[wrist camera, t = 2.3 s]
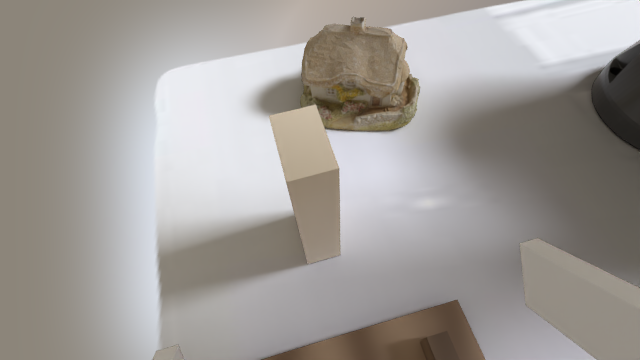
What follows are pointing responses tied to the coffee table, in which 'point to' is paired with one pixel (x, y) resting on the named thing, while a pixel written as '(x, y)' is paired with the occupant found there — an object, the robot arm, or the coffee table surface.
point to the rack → (400, 339)
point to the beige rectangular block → (310, 179)
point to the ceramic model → (359, 78)
